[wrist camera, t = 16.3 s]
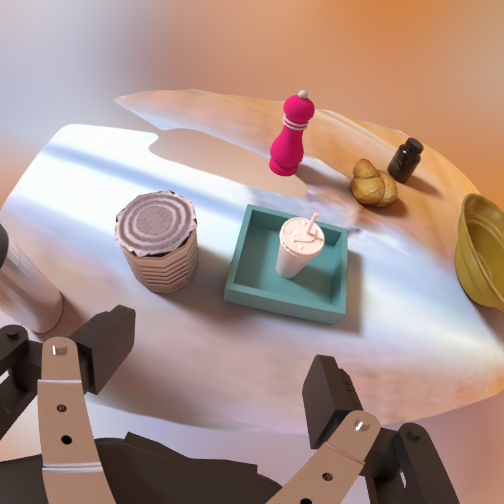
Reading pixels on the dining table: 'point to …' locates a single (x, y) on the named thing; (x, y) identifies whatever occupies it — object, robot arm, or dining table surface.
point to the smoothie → (298, 245)
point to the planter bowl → (481, 251)
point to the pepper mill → (291, 135)
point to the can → (159, 240)
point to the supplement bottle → (405, 160)
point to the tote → (282, 289)
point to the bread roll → (373, 185)
